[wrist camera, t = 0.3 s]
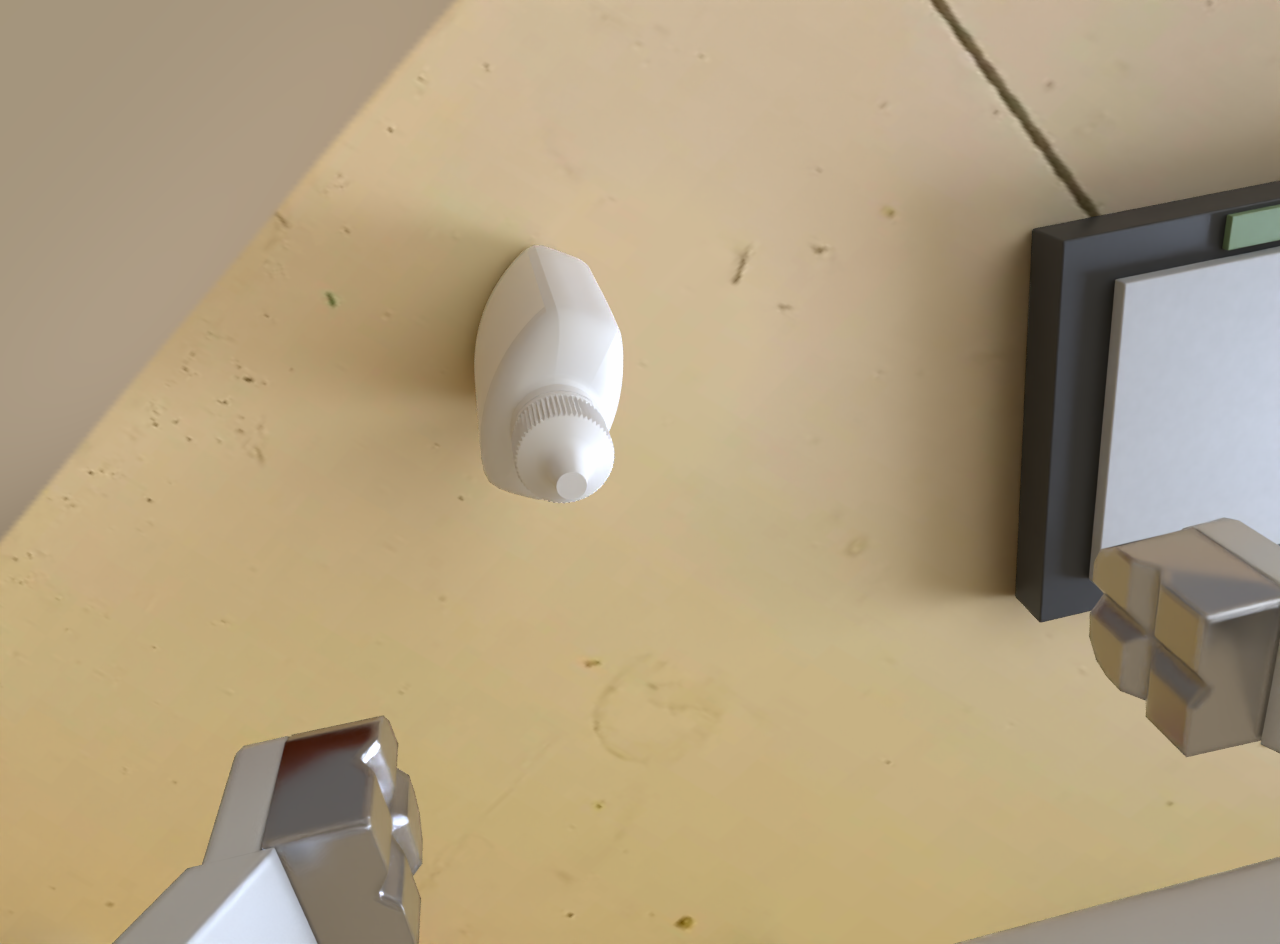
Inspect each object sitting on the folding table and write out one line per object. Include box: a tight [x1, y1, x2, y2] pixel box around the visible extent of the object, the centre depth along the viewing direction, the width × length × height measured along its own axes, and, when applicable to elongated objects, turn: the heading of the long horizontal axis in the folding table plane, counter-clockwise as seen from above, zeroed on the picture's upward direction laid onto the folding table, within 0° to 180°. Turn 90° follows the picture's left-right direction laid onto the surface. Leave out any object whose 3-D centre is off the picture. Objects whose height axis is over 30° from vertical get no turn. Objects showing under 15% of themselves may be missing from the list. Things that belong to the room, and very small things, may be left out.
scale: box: [1015, 181, 1280, 622], centre depth 37 cm, size 16×18×3 cm
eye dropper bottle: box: [474, 245, 623, 503], centre depth 27 cm, size 4×6×12 cm
